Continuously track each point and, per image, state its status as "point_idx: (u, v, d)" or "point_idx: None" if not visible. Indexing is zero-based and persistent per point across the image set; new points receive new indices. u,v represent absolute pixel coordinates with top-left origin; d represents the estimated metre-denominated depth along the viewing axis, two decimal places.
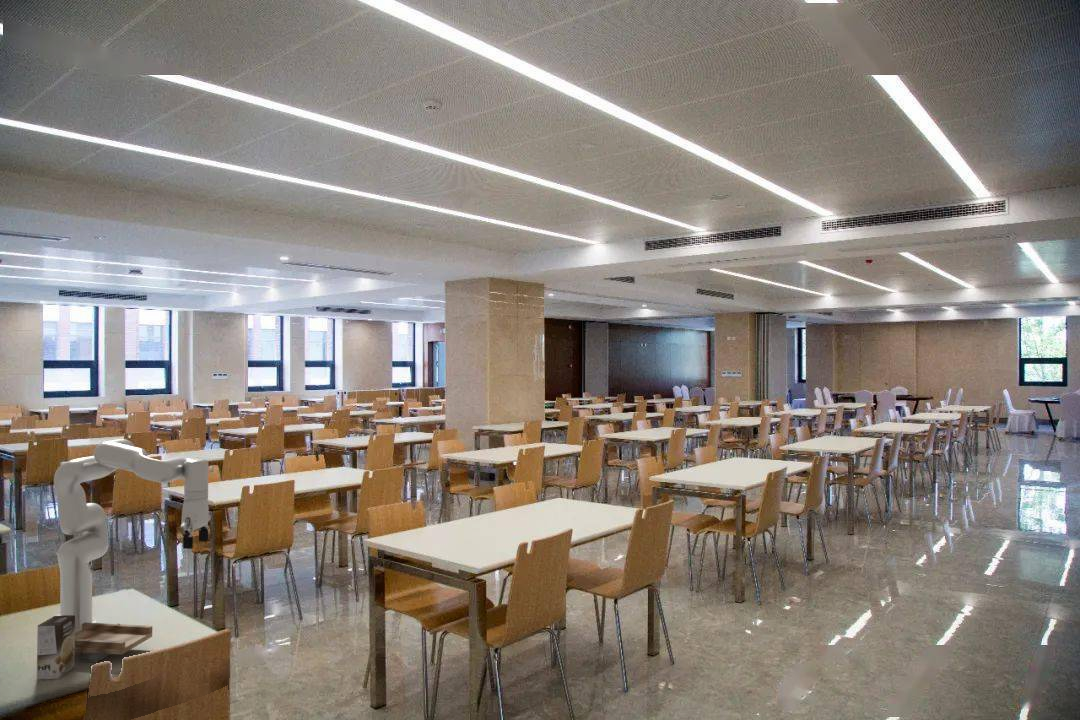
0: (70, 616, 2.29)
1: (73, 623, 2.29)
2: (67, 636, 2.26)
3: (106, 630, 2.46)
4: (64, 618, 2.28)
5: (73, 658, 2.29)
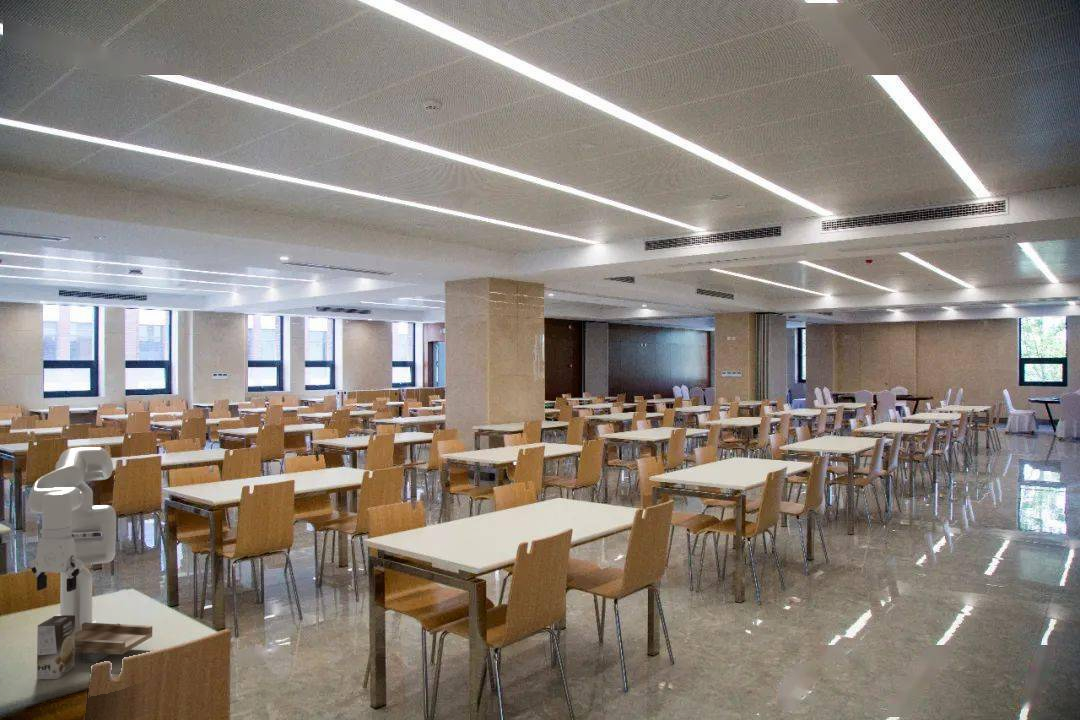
0: (70, 616, 2.29)
1: (73, 623, 2.29)
2: (67, 636, 2.26)
3: (106, 630, 2.46)
4: (64, 618, 2.28)
5: (73, 658, 2.29)
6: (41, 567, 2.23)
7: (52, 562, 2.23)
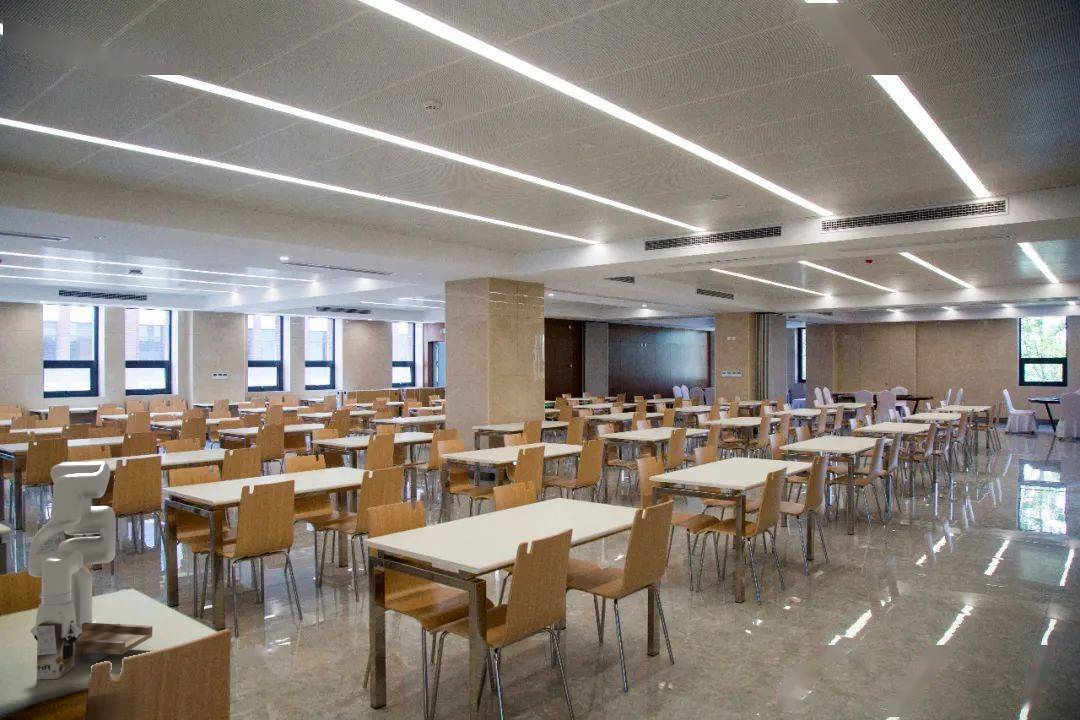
0: None
1: None
2: None
3: (106, 630, 2.46)
4: None
5: (73, 658, 2.29)
6: None
7: None
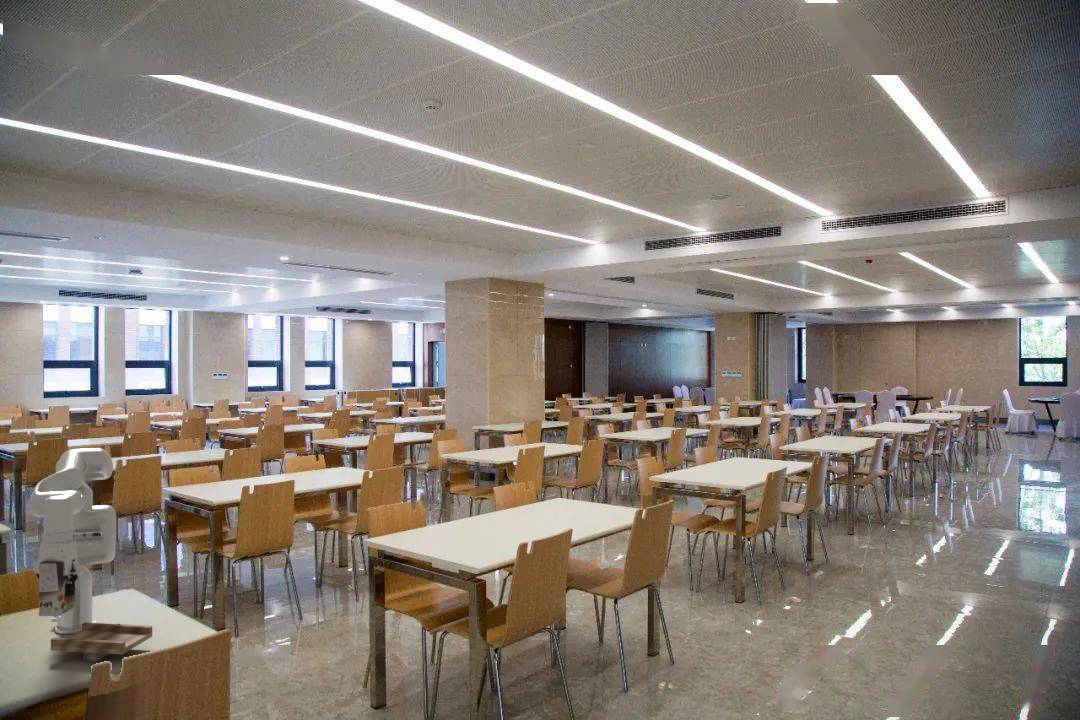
0: None
1: None
2: (69, 575, 2.27)
3: (106, 630, 2.46)
4: None
5: (75, 597, 2.31)
6: None
7: None
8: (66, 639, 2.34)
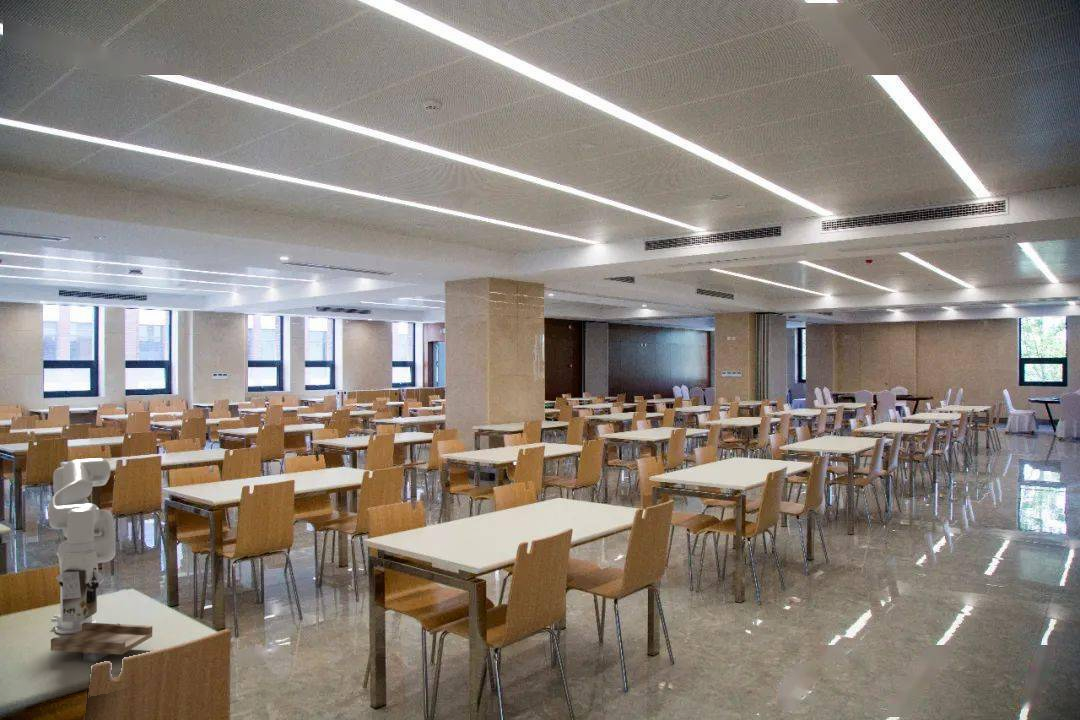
0: None
1: None
2: None
3: (106, 630, 2.46)
4: None
5: (95, 604, 2.45)
6: None
7: None
8: (66, 639, 2.34)
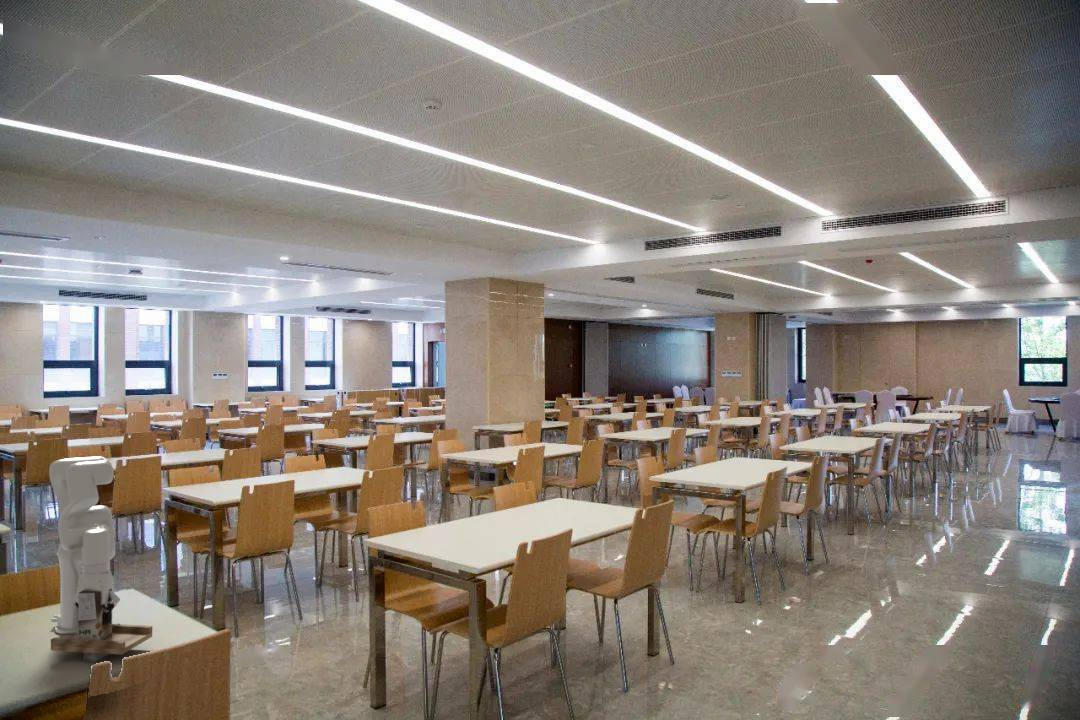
0: None
1: None
2: (106, 604, 2.41)
3: None
4: None
5: (111, 624, 2.44)
6: None
7: None
8: (66, 639, 2.34)
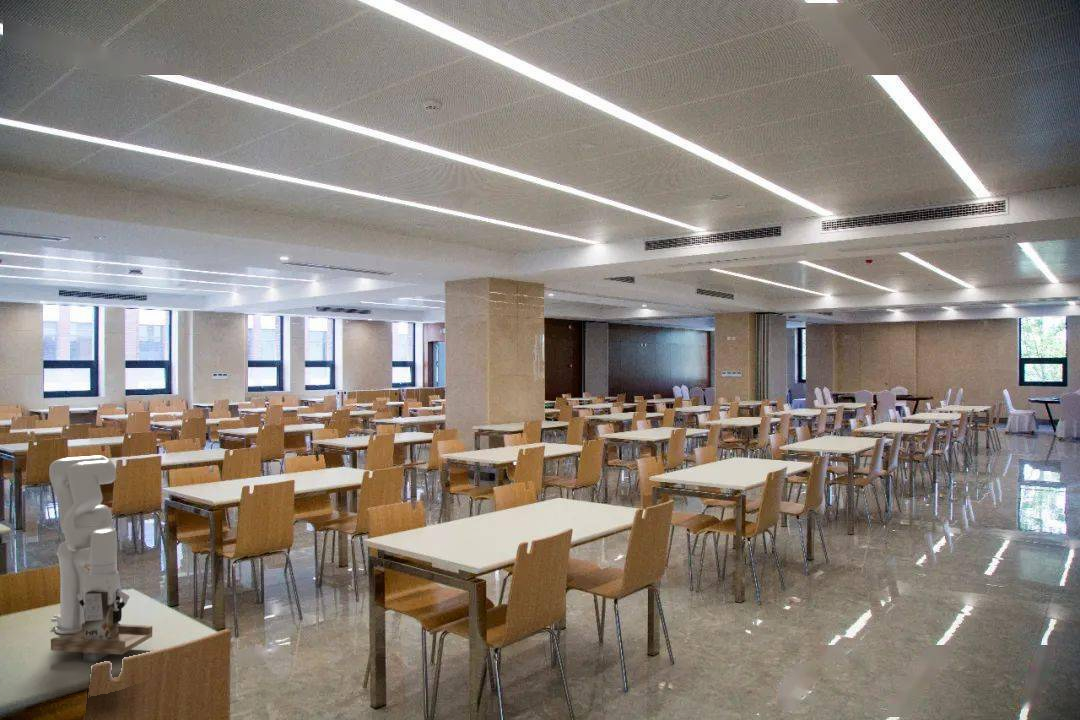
0: None
1: None
2: None
3: None
4: None
5: (117, 625, 2.44)
6: None
7: None
8: (66, 639, 2.34)
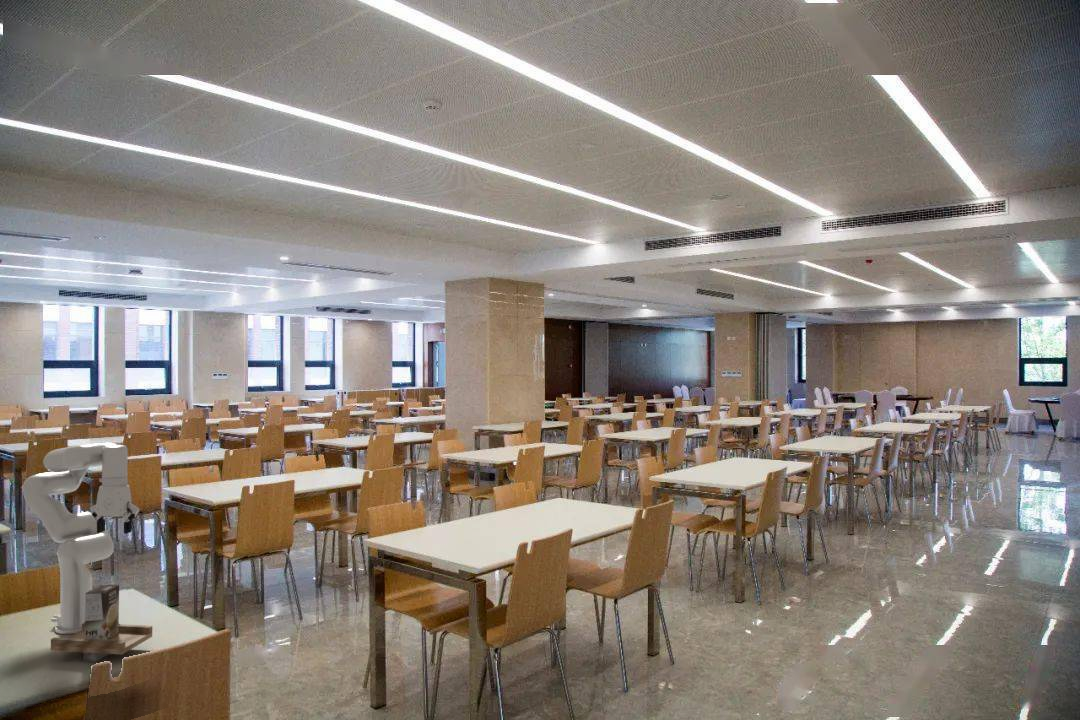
0: (115, 585, 2.44)
1: (117, 592, 2.44)
2: (112, 604, 2.40)
3: None
4: (109, 587, 2.42)
5: (117, 625, 2.44)
6: (101, 511, 2.50)
7: (110, 507, 2.50)
8: (66, 639, 2.34)
